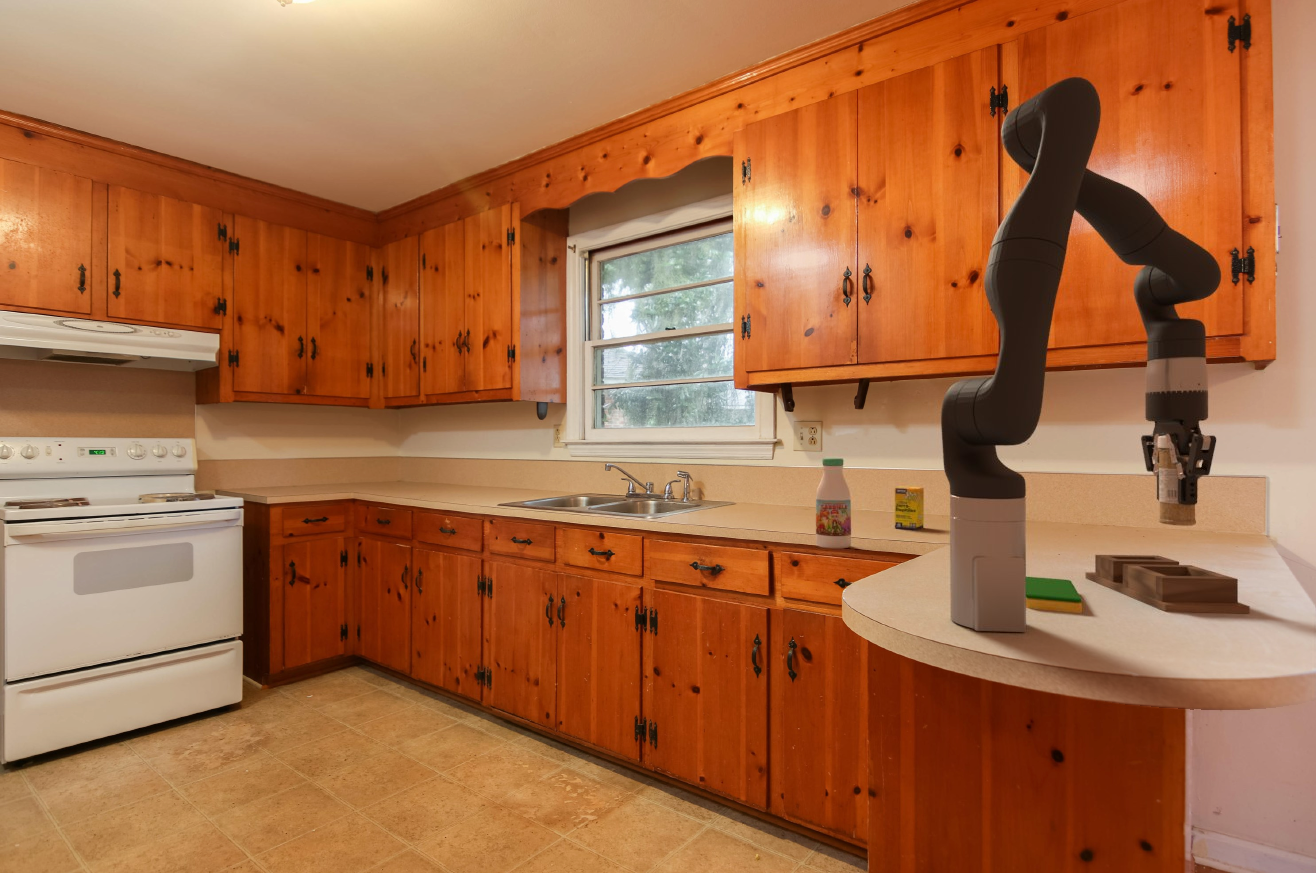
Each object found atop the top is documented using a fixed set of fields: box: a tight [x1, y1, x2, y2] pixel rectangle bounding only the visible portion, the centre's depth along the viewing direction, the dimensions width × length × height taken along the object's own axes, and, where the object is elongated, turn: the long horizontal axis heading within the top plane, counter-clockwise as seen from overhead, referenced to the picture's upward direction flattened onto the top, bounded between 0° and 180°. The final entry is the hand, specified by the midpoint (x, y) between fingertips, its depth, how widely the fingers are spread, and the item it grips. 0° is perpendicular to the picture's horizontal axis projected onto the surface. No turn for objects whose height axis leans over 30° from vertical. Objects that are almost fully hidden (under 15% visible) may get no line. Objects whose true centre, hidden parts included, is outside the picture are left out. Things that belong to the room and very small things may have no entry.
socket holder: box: [1085, 554, 1250, 614], centre depth 106 cm, size 22×11×4 cm, turn 173°
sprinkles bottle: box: [1158, 436, 1197, 527], centre depth 101 cm, size 5×5×14 cm
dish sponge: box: [1026, 576, 1083, 614], centre depth 103 cm, size 7×14×2 cm, turn 154°
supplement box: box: [894, 485, 925, 531], centre depth 179 cm, size 6×6×11 cm
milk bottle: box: [815, 457, 852, 549], centre depth 152 cm, size 8×8×20 cm
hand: (1176, 502), depth 102 cm, fingers closed on sprinkles bottle, 4 cm apart
